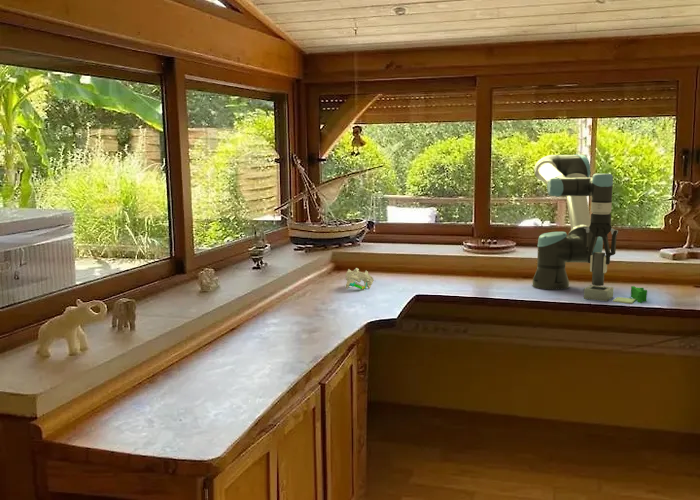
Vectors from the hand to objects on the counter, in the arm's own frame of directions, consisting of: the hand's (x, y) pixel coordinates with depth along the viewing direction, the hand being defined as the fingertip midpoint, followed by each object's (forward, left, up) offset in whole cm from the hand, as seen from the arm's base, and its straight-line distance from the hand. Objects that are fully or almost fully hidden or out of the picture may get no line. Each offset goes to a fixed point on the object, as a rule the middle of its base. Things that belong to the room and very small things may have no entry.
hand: (598, 271), depth 280 cm
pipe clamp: (+15, +5, -11) cm, 19 cm away
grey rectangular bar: (0, 0, -5) cm, 5 cm away
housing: (+1, 0, -11) cm, 11 cm away
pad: (+11, -1, -11) cm, 15 cm away
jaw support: (-92, -36, -11) cm, 99 cm away
